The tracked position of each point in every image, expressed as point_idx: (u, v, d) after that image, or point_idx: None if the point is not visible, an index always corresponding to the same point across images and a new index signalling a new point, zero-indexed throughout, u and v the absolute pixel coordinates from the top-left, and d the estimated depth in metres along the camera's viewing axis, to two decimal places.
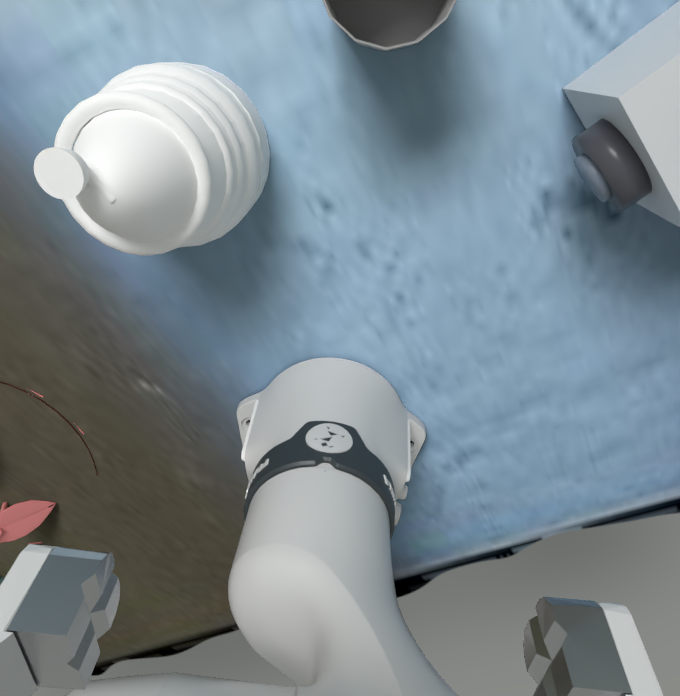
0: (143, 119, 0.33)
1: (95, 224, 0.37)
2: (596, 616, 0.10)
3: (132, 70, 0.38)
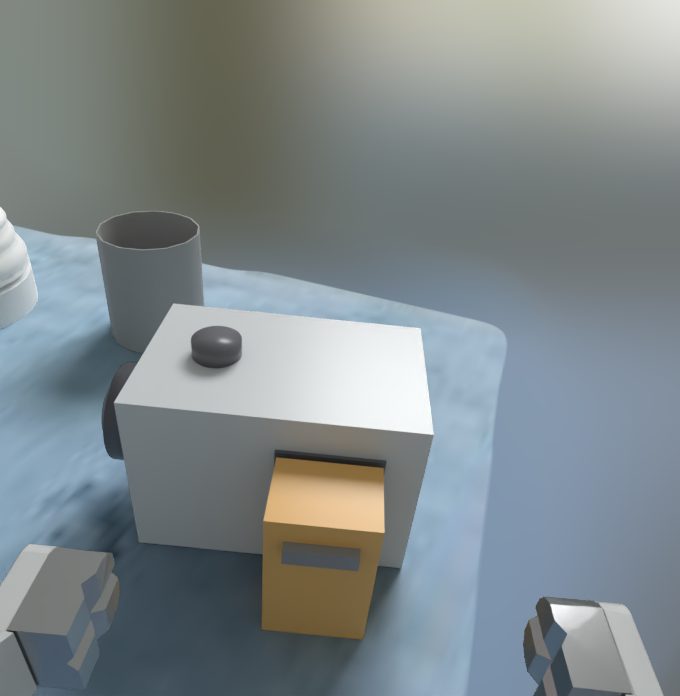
0: None
1: None
2: (596, 616, 0.10)
3: None
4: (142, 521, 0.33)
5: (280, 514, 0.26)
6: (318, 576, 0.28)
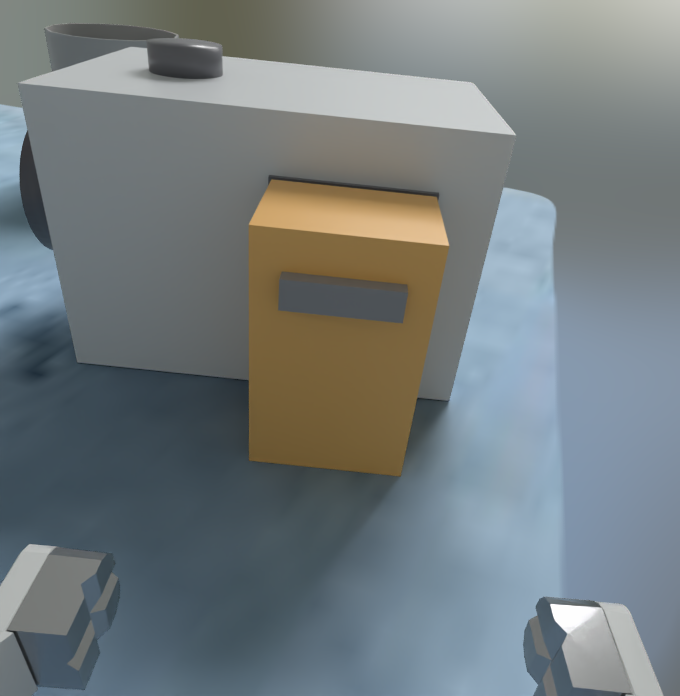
0: None
1: None
2: (596, 616, 0.10)
3: None
4: (79, 323, 0.23)
5: (277, 221, 0.16)
6: (337, 348, 0.17)
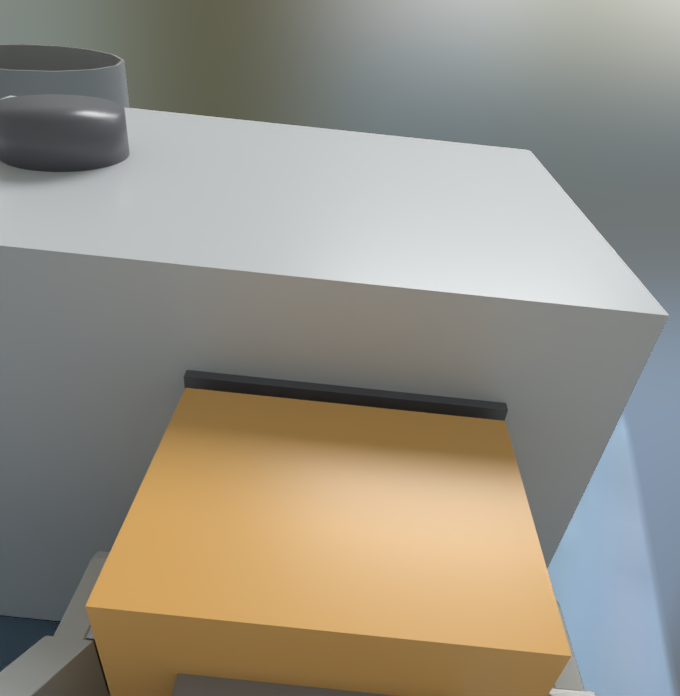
0: None
1: None
2: None
3: None
4: None
5: (161, 577, 0.07)
6: None
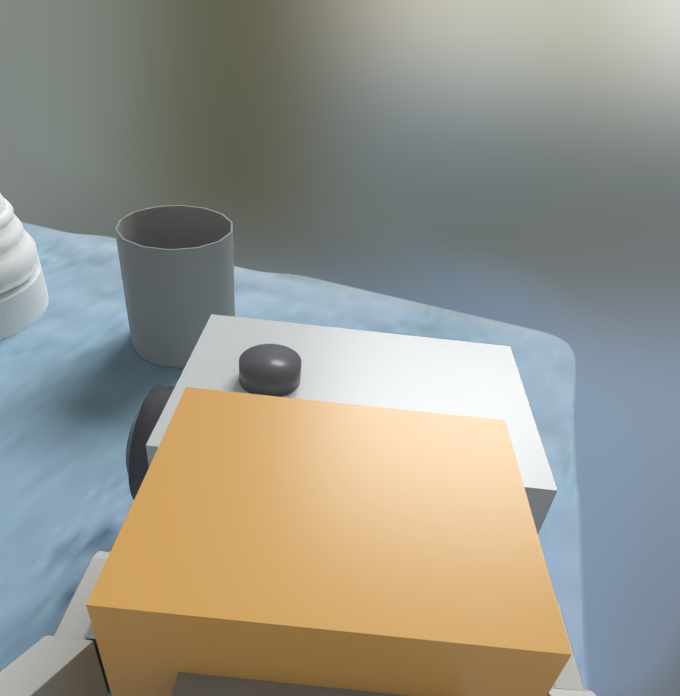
0: None
1: None
2: None
3: None
4: None
5: (162, 576, 0.07)
6: None
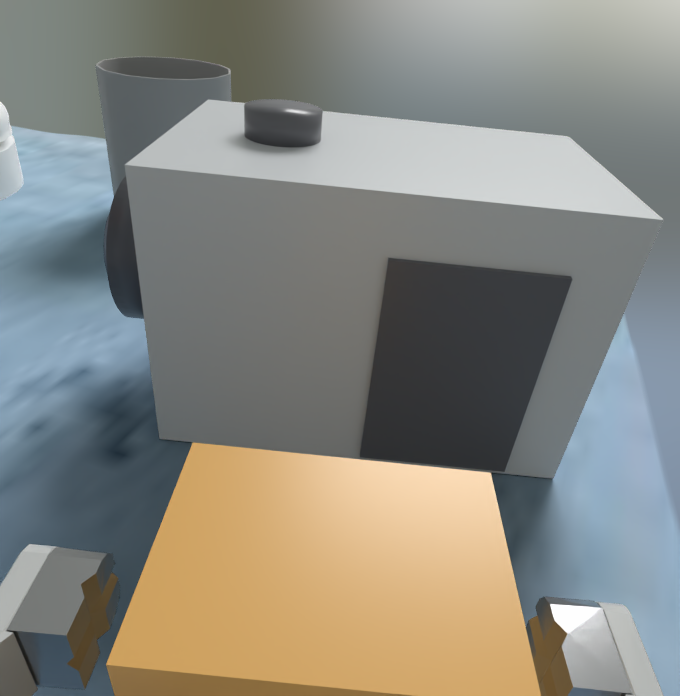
0: None
1: None
2: (596, 616, 0.10)
3: None
4: (165, 401, 0.22)
5: (174, 635, 0.07)
6: None
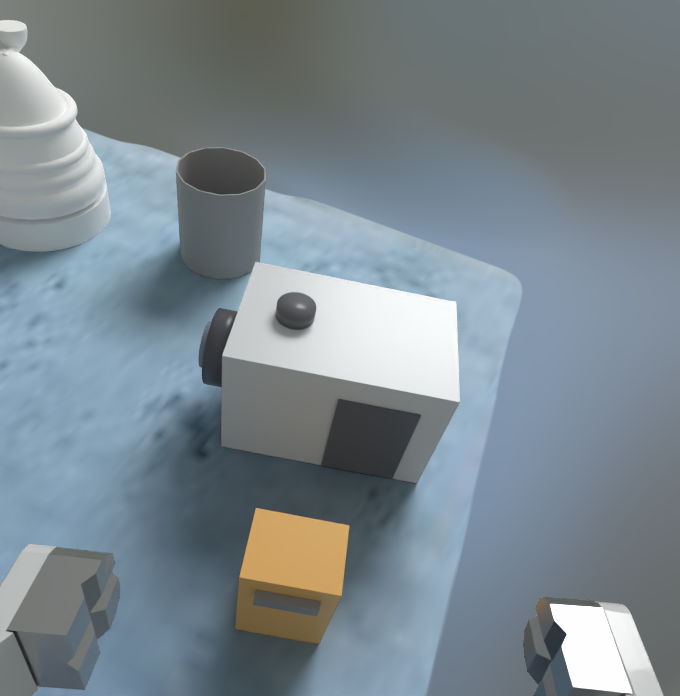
0: (61, 98, 0.53)
1: None
2: (596, 616, 0.10)
3: None
4: (226, 433, 0.44)
5: (254, 571, 0.30)
6: (284, 609, 0.33)
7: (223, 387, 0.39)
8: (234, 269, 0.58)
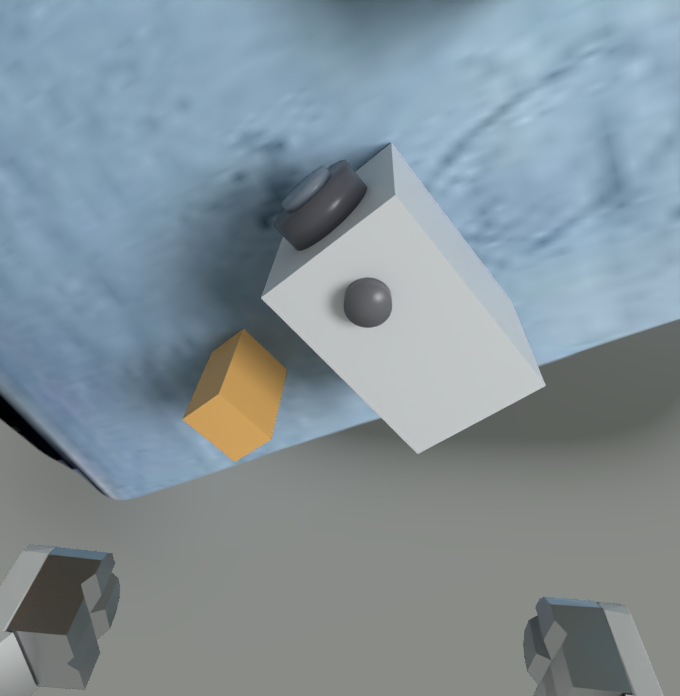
0: None
1: None
2: (596, 616, 0.10)
3: None
4: None
5: (193, 422, 0.42)
6: None
7: None
8: None
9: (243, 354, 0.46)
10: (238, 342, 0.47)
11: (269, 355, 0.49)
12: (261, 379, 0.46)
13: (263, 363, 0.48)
